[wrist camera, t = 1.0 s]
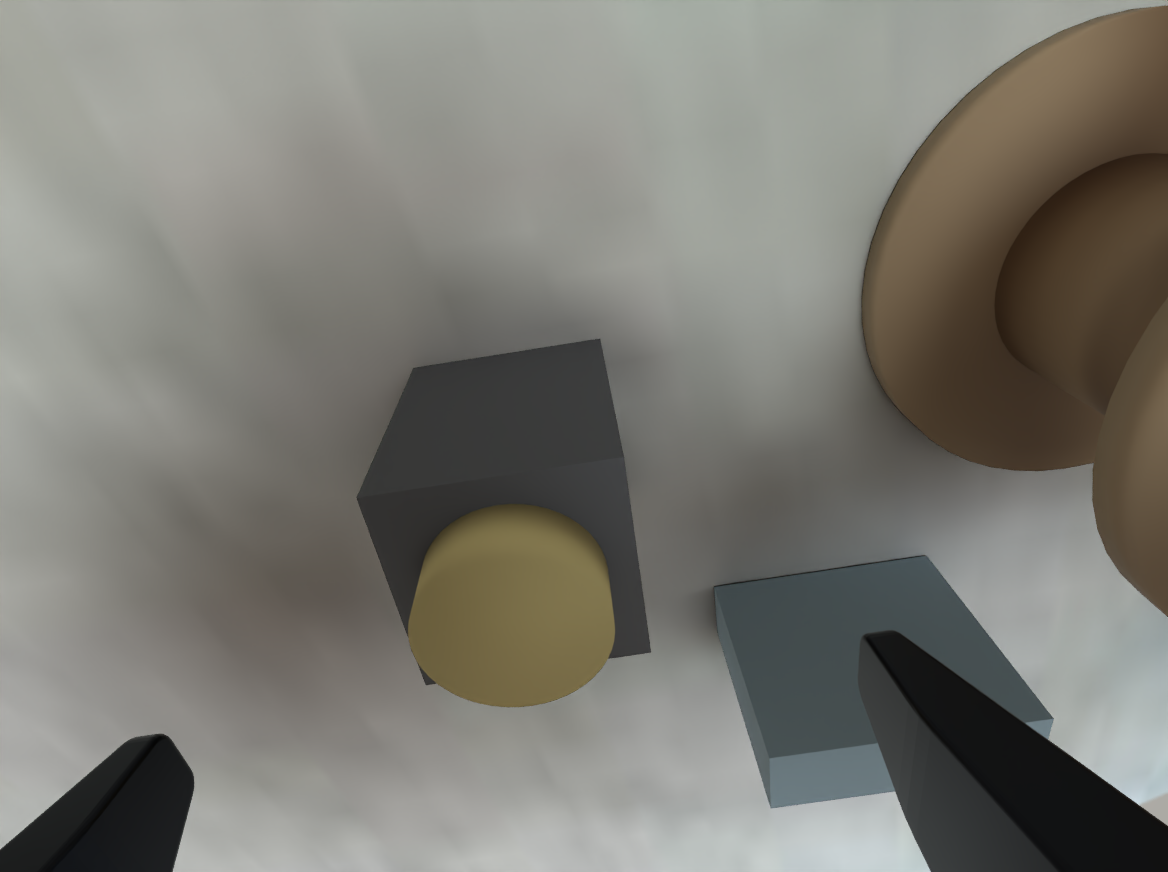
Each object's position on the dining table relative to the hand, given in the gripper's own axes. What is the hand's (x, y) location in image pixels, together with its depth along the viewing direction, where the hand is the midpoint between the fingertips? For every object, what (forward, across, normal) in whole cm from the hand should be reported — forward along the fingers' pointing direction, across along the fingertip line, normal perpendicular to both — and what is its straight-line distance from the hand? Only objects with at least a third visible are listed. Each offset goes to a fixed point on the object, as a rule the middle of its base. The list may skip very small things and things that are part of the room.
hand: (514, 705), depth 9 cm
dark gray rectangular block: (+8, 0, 0) cm, 8 cm away
